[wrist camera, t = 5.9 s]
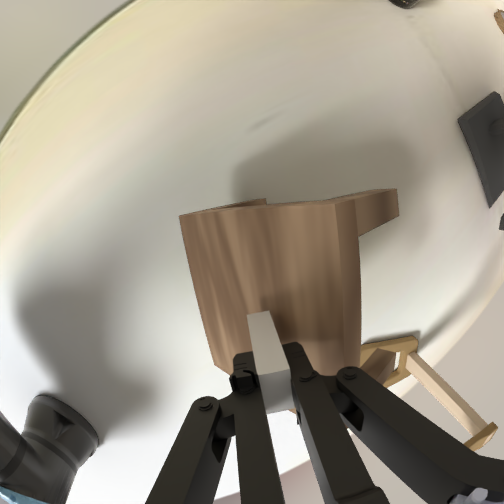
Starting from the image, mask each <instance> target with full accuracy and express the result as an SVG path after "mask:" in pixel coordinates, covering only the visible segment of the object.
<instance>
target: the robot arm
mask: <svg viewBox="0 0 504 504" xmlns="http://www.w3.org/2000/svg"><path fill="white" fill-rule="evenodd" d="M247 320H248V326H249V331H250V337H251V343H252V349H253V351H250V352H244V353H238V354H236V355H235V356H234V358H233V373H232V374H231V375H230V378H229V380H230V384H231V387H232V391H233V392H232V393H231V394H230V395H228V396H227V397H225V398H223V399H220V400H217V399H216V398H214V397H211V396H206V397H201V398H198V399H197V400H195V401H194V403H193V404H192V406H191V408H190V410H189V412H188V414H187V416H186V418H185V420H184V423H183V425H182V427H181V429H180V431H179V433H178V435H177V438H176V440H175V442H174V444H173V446H172V448H171V450H170V452H169V454H168V457H167V459H166V461H165V463H164V465H163V467H162V469H161V471H160V473H159V475H158V478H157V480H156V482H155V484H154V486H153V488H152V490H151V492H150V494H149V496H148V498H147V500H146V503H145V504H213V501H214V497H215V494H216V491H217V487H218V484H219V480H220V477H221V474H222V470H223V467H224V463H225V460H226V456H227V453H228V449H229V446H230V442H231V437H232V436H235V435H236V448H237V461H238V473H239V485H240V494H241V495H240V496H241V504H285V500H284V495H283V491H282V486H281V482H280V477H279V472H278V468H277V463H276V458H275V453H274V449H273V444H272V439H271V434H270V429H269V424H268V419H267V415H266V414H270V413H275V412H280V411H285V410H289V409H294V408H296V415H297V425H298V424H299V425H300V428H301V431H302V434H303V437H304V441H305V444H306V447H307V450H308V453H309V456H310V459H311V462H312V465H313V469H314V471H315V475H316V478H317V481H318V484H319V487H320V490H321V493H322V496H323V499H324V502H325V504H390V503H389V501H388V499H387V497H386V495H385V493H384V492H383V490H382V489H381V488H380V487H377V486H375V485H374V483H373V481H372V479H371V477H370V476H369V473H368V471H367V469H366V467H365V465H364V463H363V461H362V459H361V457H360V455H359V453H358V451H357V449H356V447H355V445H354V443H353V441H352V439H351V437H350V435H349V433H348V431H347V429H346V426H347V427H348V428H349V429H350V430H351V431H352V432H353V433H354V434H355V435H356V436H357V437H358V438H359V439H360V440H361V441H362V442H363V443H364V444H365V445H366V446H367V447H368V448H369V449H370V450H371V451H372V452H373V453H374V454H375V455H376V456H377V457H378V458H379V459H380V460H381V461H382V462H383V463H384V464H385V465H386V466H387V467H388V468H389V469H390V470H391V471H392V472H394V473H395V474H396V475H397V476H398V477H399V478H400V479H401V480H402V481H403V482H404V483H405V484H406V485H407V486H408V487H410V488H411V489H412V490H413V491H414V492H415V493H416V494H418V496H419V497H421V498H422V499H423V500H424V501H425V502H427V503H428V504H504V460H500V459H494V458H490V457H485V456H480V455H478V454H477V453H475V452H474V451H472V450H471V449H469V448H468V447H467V446H465V445H464V444H462V443H461V442H459V441H458V440H457V439H455V438H453V437H452V436H451V435H449V434H448V433H447V432H445V431H444V430H442V429H441V428H440V427H438V426H437V425H436V424H434V423H433V422H431V421H430V420H429V419H427V418H426V417H424V416H423V415H422V414H420V413H419V412H418V411H416V410H415V409H414V408H412V407H411V406H409V405H408V404H407V403H406V402H404V401H403V400H401V399H400V398H399V397H397V396H396V395H395V394H393V393H392V392H391V391H389V390H388V389H387V388H385V387H384V386H383V385H382V384H380V383H379V382H378V381H376V380H375V379H374V378H372V377H371V376H370V375H368V374H367V373H366V372H364V371H363V370H362V369H360V368H358V367H355V366H347V367H344V368H342V369H340V370H339V371H338V372H337V374H336V375H333V376H324V375H320V374H319V373H318V372H317V371H316V370H314V369H313V367H312V365H311V363H310V361H309V359H308V357H307V355H306V353H305V351H304V348H303V346H302V345H301V344H299V343H298V342H291V343H287V344H282V345H281V343H280V340H279V337H278V334H277V332H276V329H275V326H274V323H273V320H272V318H271V315H270V312H269V311H264V312H259V313H253V314H248V315H247ZM294 405H295V406H294ZM344 423H345V424H344ZM345 425H346V426H345ZM97 446H98V437H97V434H96V433H95V431H94V429H93V428H92V427H91V425H90V424H89V423H88V422H87V421H86V420H85V419H84V418H83V417H82V416H81V415H80V414H78V413H77V412H76V411H75V410H73V409H72V408H70V407H69V406H67V405H66V404H64V403H62V402H60V401H59V400H56V399H54V398H51V397H48V396H37V397H35V398H34V399H33V401H32V402H31V403H30V405H29V407H28V413H27V417H26V421H25V426H24V430H23V432H22V434H21V435H20V434H19V432H18V431H17V430H16V429H15V428H14V427H13V426H12V424H11V423H10V422H9V421H8V420H7V419H6V417H5V416H4V415H3V414H2V413H1V411H0V497H1V498H2V499H4V500H6V501H7V502H8V503H10V504H66V501H67V498H68V495H69V492H70V489H71V486H72V484H73V481H74V478H75V475H76V473H77V470H78V469H79V467H81V466H82V465H83V464H84V463H85V462H86V461H87V459H88V458H89V457H91V456H92V455H93V454H94V453H95V451H96V448H97Z"/></svg>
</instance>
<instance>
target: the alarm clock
mask: <svg viewBox="0 0 504 504" xmlns="http://www.w3.org/2000/svg"><path fill="white" fill-rule="evenodd" d="M497 10H498V12H496V13H494V17H495V20H496V22H497V24H498V26H499V27H500V29H501V30H502V32H503V33H504V11H503V10H499V9H497Z"/></svg>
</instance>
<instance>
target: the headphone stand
mask: <svg viewBox="0 0 504 504" xmlns="http://www.w3.org/2000/svg"><path fill="white" fill-rule="evenodd" d="M377 348H380V349H384V350H388V351H392V352H400V351H401V352H400V359H399V365H398V368H397V370H396V371H394V372H392V373H391V374H390V376H389V377H388V379H387V380H386V381H385V383H384V384H383V386H384V387H385V388H388V387H389V386H391V385H393V384H395V383H397V382H399V381H401V380H402V379H404V378H406V377H408V376H409V375H410V374H412V375H413V376H414V377H415V378H416V379H417V380H418V381H419V382H420V383H421V384H422V385H423V386H424V387H425V388H426V389H427V390H428V391H429V392H430V393H431V394H432V395H433V396H434V397H435V398H436V399H437V400H438V401H439V402H440V403H441V404H442V405H443V406H444V407H445V408H446V409H447V410H448V411H449V412H450V413H451V414H452V415H453V416H454V417H455V418H456V419H457V420H458V421H459V422H460V424H461V425H462V426H463V427H464V428H465V429H466V430H467V431H468V432H469V433H470V434H471V435H472V436H473V437H472V438H471V439H470V440H468V441H467V442H465V443H464V445H465V446H467V447H468V448H469V449H471V450H472V451H475V450H477V449H480V448H481V447H483V446H484V445H485V444H486V443H487V442H489V441H490V440H491V438H492V437H493V435H494V434H495V432H496V430H497V429H498V427H497V426H496V424H494V423H493V422H492V423H490V424H489V425H488V424H487V423H486V422H485V421H484V420H483V419H482V418H481V417H480V416H479V415H478V414H477V413H476V412H475V411H474V410H473V408H472V407H470V406H469V404H468V403H467V402H466V401H465V400H464V399H463V398H462V397H461V396H460V395H459V394H458V393H457V392H455V390H454V389H453V388H451V386H449V385H448V383H447V382H445V381H444V380H443V379H442V378H441V377H440V376H439V375H438V374H437V373H436V372H435V371H434V370H433V369H432V368H431V367H430V366H429V365H428V364H427V363H426V362H425V361H424V360H423V359H422V358H421V357H420V356H419V355H418V354H416V353H417V348H418V340H417V339H416V338H415V337H414V336H408V337H403V338H398V339H393V340H387V341H381V342H375V343H369V344H364V345H362V346H361V356H360V367H361V366H362V365H363V364H364V363H365V362H366V360H367V359H368V358H369V357H370V356H371V355H372V353H373V352H374V351H375V350H376V349H377Z"/></svg>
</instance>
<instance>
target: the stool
mask: <svg viewBox="0 0 504 504" xmlns="http://www.w3.org/2000/svg"><path fill="white" fill-rule="evenodd" d="M398 216H399V208H398V197H397V189H377V190H369V191H365V192H360V193H355V194H350V195H346V196H341V197H337V198H332V199H328V200H323V201H308V202H293V203H280V204H268V205H267V204H266V198H265V199H256V200H250V201H245V202H240V203H235V204H230V205H225V206H220V207H216V208H211V209H206V210H202V211H197V212H193V213H189V214H184V215H180V216H179V220H180V225H181V230H182V235H183V240H184V245H185V249H186V254H187V259H188V263H189V268H190V272H191V277H192V281H193V285H194V289H195V294H196V298H197V302H198V306H199V310H200V314H201V318H202V321H203V325H204V329H205V333H206V337H207V340H208V344H209V347H210V351H211V355H212V358H213V362H214V365H215V366H217V367H218V368H220V369H221V370H223V371H224V372H226V373H227V374H229V375H231V374H232V373H233V358H234V356H235V355H236V354H238V353H244V352H250V351H253V349H252V343H251V337H250V331H249V326H248V320H247V315H248V314H253V313H259V312H264V311H269V312H270V315H271V318H272V320H273V323H274V326H275V329H276V332H277V334H278V337H279V340H280V343H281V345H282V344H287V343H291V342H298V343H299V344H301V345H302V346H303V348H304V351H305V353H306V355H307V357H308V359H309V361H310V363H311V365H312V367H313V369H314V370H316V371H317V372H318V373H319V374H320V375H324V376H333V375H336V374H337V372H338V371H339V370H340V369H342V368H344V367H347V366H355V367H358V368H360V369H362V370H363V371H364V372H366V373H367V374H368V375H370V376H371V377H372V378H374V379H375V380H376V381H378V382H379V383H380V384H382V385H383V384H384V383H385V381H386V380H387V379H388V377H389V376H390V374H391V373H392V372H393V370H394V366H395V358H396V352H392V351H388V350H384V349H380V348H377V349H376V350H375V351H374V352H373V353H372V355H371V356H370V357H369V358H368V359H367V360H366V362H365V363H364V364H363V365H362V366H361V367H360V356H361V275H360V256H359V241H358V237H359V236H361V235H363V234H365V233H367V232H369V231H370V230H372V229H374V228H376V227H378V226H380V225H382V224H384V223H386V222H388V221H390V220H392V219H394V218H396V217H398ZM294 406H295V405H294ZM289 411H291V412H293V413H295V414H296V408H294V409H289ZM344 424H345V423H344ZM345 426H346V425H345ZM347 428H348V427H347V426H346V429H347Z"/></svg>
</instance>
